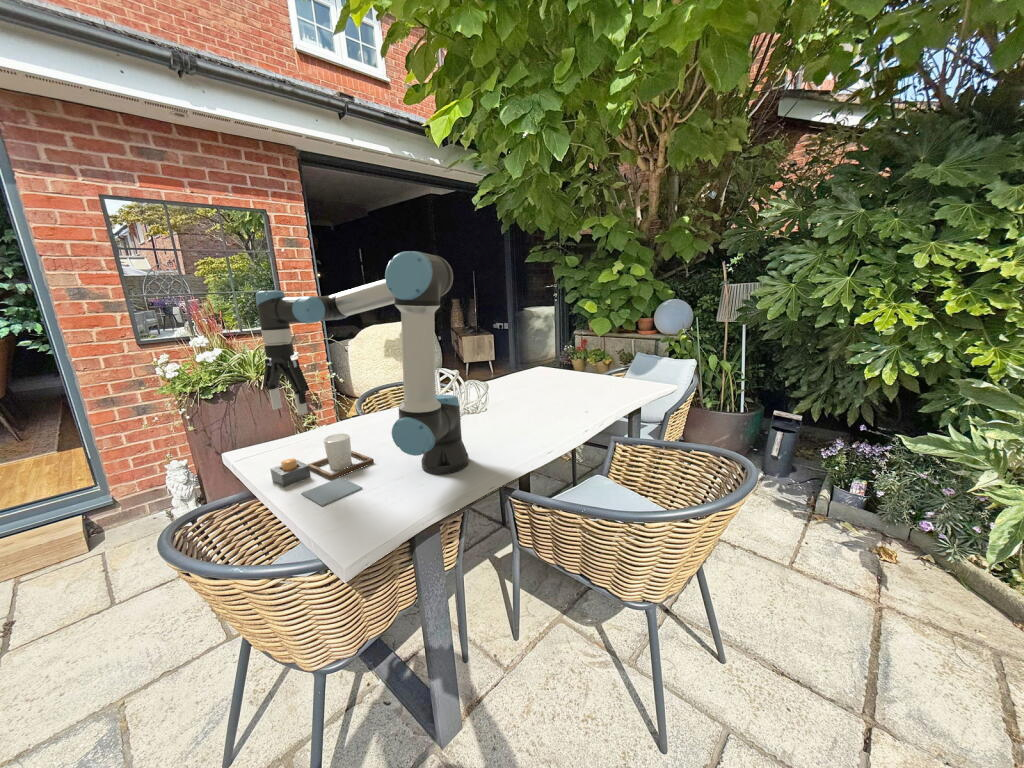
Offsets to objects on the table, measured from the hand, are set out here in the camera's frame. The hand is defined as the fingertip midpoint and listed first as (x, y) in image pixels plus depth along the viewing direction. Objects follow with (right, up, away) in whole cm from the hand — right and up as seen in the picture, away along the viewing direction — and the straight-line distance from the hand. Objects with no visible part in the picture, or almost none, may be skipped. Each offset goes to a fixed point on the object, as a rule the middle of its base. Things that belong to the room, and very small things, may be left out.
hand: (289, 411), depth 124 cm
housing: (+1, -21, -1) cm, 21 cm away
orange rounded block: (+1, -19, -1) cm, 19 cm away
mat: (+18, -22, -10) cm, 30 cm away
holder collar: (+13, -19, +7) cm, 24 cm away
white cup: (+13, -19, +7) cm, 24 cm away
